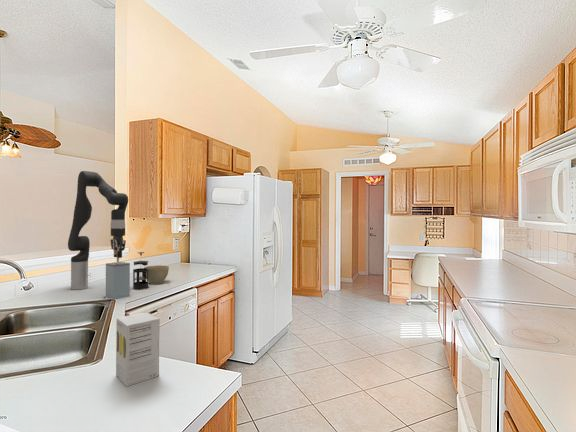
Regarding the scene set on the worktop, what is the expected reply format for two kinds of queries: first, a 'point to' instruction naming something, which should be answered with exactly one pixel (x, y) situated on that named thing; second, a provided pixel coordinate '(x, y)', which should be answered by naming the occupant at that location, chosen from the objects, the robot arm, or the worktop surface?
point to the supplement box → (137, 348)
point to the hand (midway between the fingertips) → (117, 257)
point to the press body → (117, 280)
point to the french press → (143, 283)
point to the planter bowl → (157, 274)
